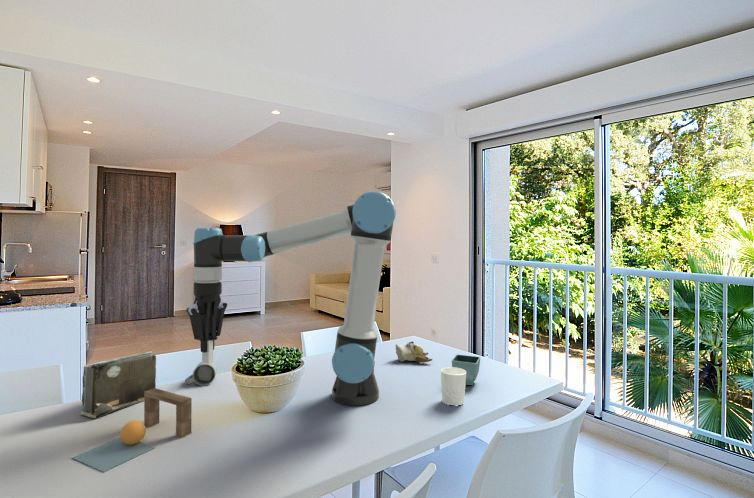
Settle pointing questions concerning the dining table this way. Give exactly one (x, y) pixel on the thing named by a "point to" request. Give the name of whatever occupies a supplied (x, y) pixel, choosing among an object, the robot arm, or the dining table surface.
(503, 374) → the dining table surface
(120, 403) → the radio
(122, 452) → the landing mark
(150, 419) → the bridge
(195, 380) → the ceramic mug
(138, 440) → the ball
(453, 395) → the white cup
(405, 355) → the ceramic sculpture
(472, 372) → the flower pot
